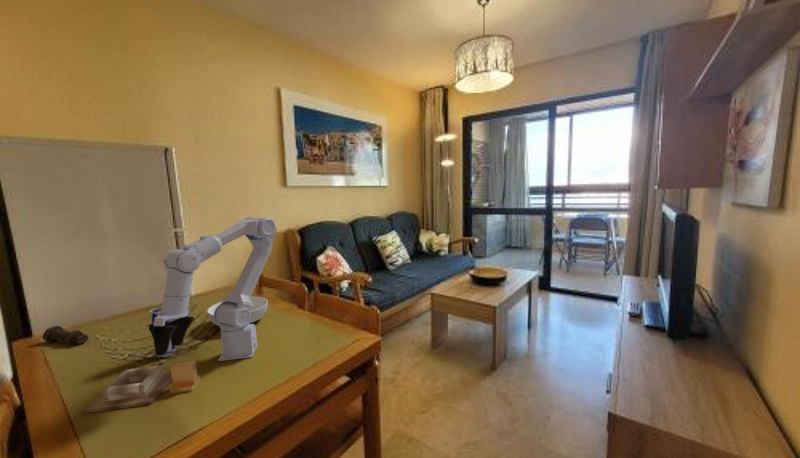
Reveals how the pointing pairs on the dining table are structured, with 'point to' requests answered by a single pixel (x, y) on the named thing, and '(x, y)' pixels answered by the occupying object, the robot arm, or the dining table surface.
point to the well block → (132, 389)
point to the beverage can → (171, 347)
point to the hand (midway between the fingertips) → (168, 349)
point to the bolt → (64, 335)
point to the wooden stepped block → (184, 377)
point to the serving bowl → (256, 312)
